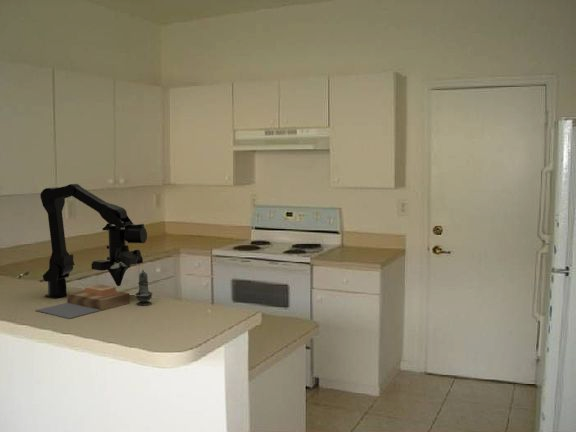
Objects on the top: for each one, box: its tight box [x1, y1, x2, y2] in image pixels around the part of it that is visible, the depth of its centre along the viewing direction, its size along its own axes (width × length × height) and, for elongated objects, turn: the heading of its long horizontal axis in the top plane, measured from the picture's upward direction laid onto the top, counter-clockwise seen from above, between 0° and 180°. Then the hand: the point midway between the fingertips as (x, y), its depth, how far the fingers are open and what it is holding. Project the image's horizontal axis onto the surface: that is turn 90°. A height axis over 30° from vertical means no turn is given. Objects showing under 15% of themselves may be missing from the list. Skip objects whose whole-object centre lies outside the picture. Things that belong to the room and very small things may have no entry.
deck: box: [66, 289, 131, 312], centre depth 201 cm, size 18×12×4 cm, turn 56°
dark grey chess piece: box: [134, 269, 153, 307], centre depth 199 cm, size 6×6×12 cm
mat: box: [35, 302, 102, 320], centre depth 191 cm, size 18×12×1 cm, turn 56°
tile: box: [84, 283, 117, 296], centre depth 201 cm, size 9×6×2 cm, turn 56°
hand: (118, 285), depth 208 cm, fingers closed
